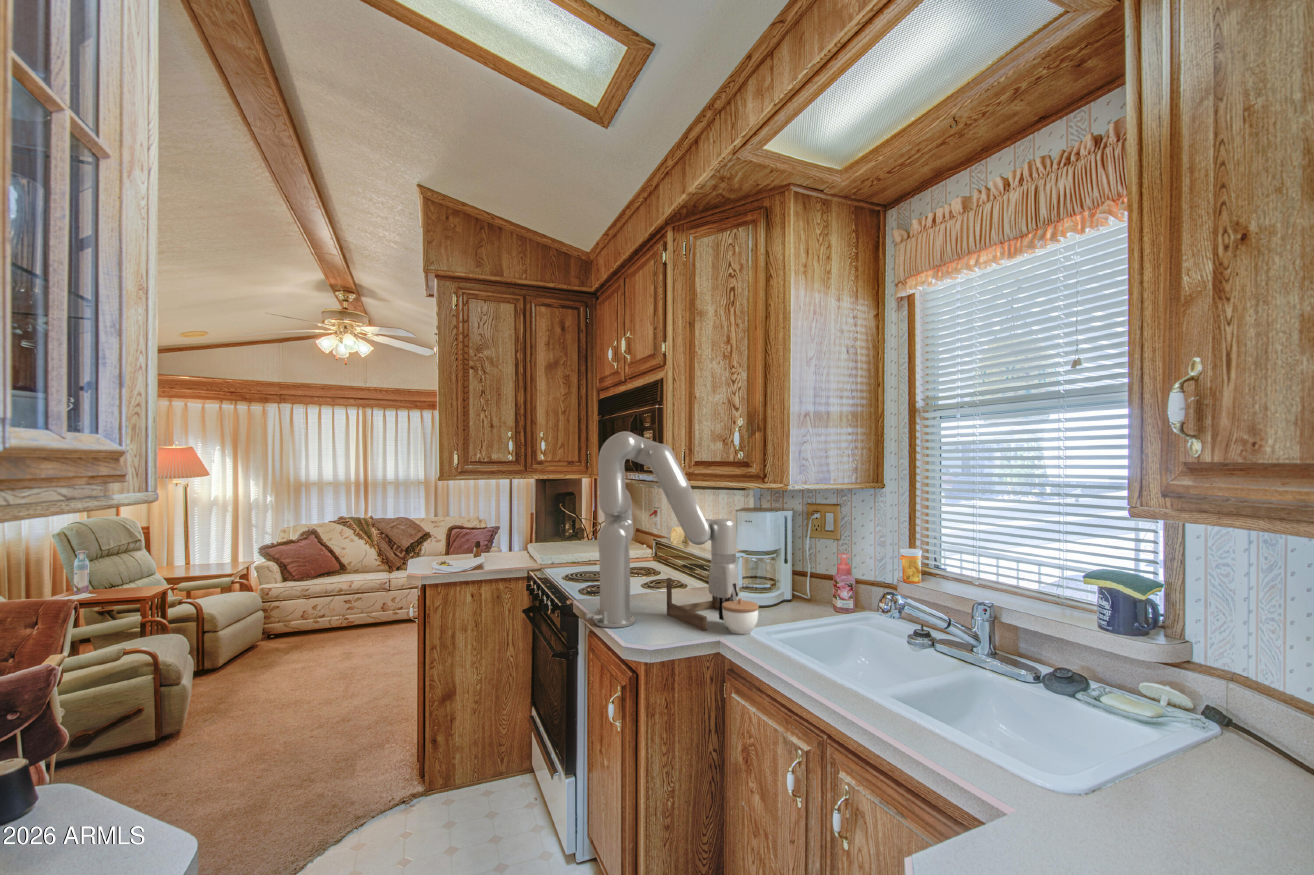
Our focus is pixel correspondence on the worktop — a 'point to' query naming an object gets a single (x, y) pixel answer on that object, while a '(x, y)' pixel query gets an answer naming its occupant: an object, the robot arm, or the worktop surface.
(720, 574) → the robot arm
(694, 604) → the wooden dowel stand
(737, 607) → the lidded jar
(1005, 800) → the worktop surface
